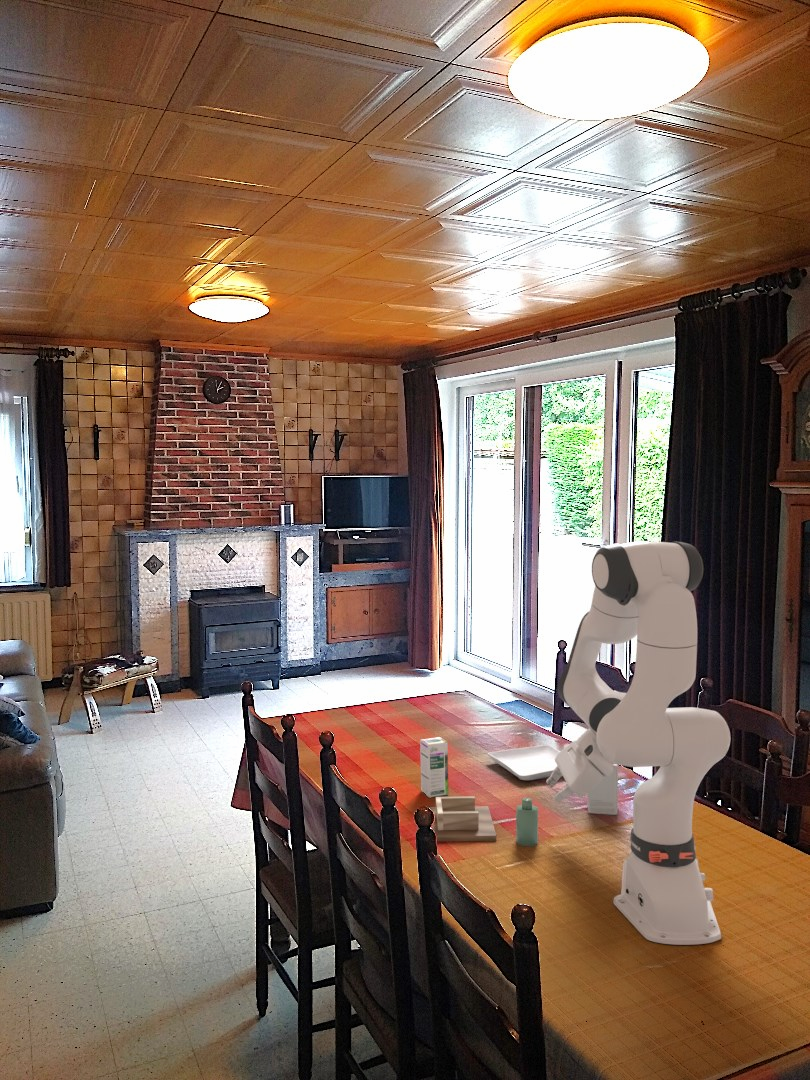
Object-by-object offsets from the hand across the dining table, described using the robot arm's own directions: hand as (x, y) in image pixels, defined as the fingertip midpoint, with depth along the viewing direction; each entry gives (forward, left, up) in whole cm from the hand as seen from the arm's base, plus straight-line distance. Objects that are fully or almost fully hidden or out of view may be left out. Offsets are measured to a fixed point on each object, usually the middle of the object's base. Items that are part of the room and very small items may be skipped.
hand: (551, 792), depth 200 cm
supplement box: (+19, -16, -12) cm, 27 cm away
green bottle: (0, +6, -12) cm, 13 cm away
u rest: (+10, +21, -11) cm, 26 cm away
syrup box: (+32, +26, -12) cm, 42 cm away
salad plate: (+50, -4, -12) cm, 51 cm away
